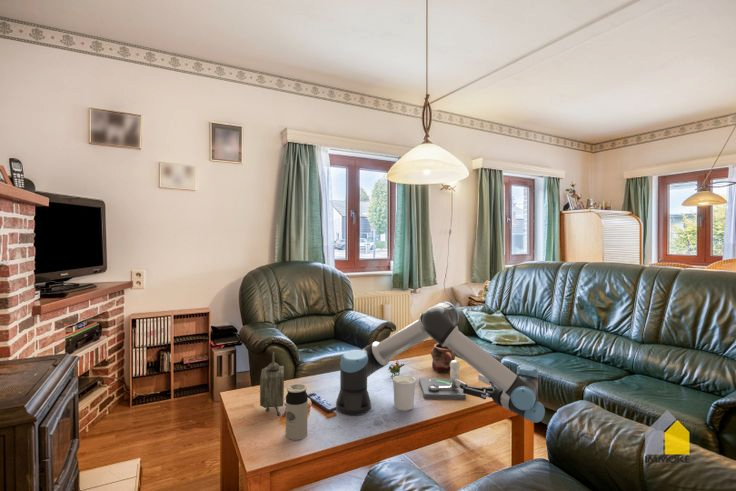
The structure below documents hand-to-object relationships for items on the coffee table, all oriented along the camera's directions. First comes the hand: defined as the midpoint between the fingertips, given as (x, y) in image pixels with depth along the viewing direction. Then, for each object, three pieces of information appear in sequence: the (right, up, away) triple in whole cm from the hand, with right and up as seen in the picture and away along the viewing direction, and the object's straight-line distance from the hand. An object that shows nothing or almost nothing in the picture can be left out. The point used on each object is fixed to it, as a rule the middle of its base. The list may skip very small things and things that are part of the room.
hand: (468, 379), depth 169 cm
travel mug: (-72, -10, -30) cm, 79 cm away
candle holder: (-30, -10, -5) cm, 32 cm away
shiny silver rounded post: (-9, -7, +7) cm, 14 cm away
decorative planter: (-4, -9, +37) cm, 38 cm away
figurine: (-30, -9, +30) cm, 43 cm away
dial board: (-10, -9, +12) cm, 18 cm away
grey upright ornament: (-86, -9, -11) cm, 87 cm away
